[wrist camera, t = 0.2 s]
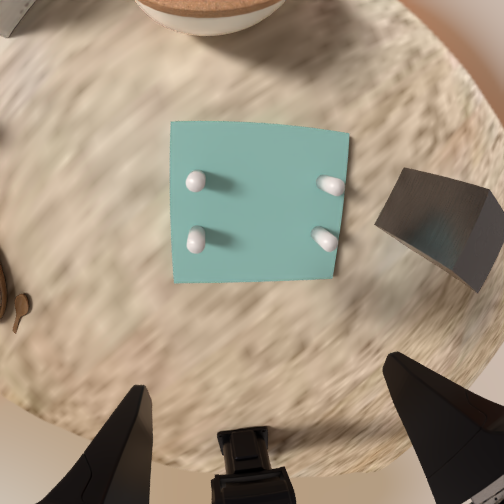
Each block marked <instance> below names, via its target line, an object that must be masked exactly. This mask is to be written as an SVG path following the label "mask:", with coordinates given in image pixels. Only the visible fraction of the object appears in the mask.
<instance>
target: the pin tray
mask: <svg viewBox="0 0 504 504" xmlns="http://www.w3.org/2000/svg"><path fill="white" fill-rule="evenodd" d="M348 148H349V133H344V132H337V131H331V130H324V129H316V128H309V127H300V126H290V125H280V124H267V123H252V122H229V121H176V122H171V130H170V219H171V243H172V261H173V275H174V283H223V282H262V281H290V280H314V279H332V278H333V272H334V266H335V260H336V253H337V247H338V240H339V233H340V226H341V218H342V210H343V201H344V192H345V183H346V172H347V161H348Z"/></svg>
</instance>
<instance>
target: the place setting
mask: <svg viewBox="0 0 504 504" xmlns="http://www.w3.org/2000/svg"><path fill="white" fill-rule="evenodd" d="M0 290H1V298H2V304H1V306H0V319H1V318H2V316H3V314H4V311H5V308H6V303H7V289H6V282H5V277H4V274H3V270H2V267H1V264H0ZM15 309H16V319H15V323H14V326H13V332H14V333H15V334H16V332H17V328H18V323H19V320H20V317H21V316H24V315H26V314H27V312H28V309H29V304H28V299H27V297H26V296H25V295H24V294H20V295H18V296H17V297H16V298H15Z"/></svg>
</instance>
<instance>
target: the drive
mask: <svg viewBox="0 0 504 504" xmlns="http://www.w3.org/2000/svg"><path fill="white" fill-rule="evenodd" d="M374 225H376V226H377V227H379V228H380V229H382V230H383V231H385V232H386V233H388V234H389V235H391V236H392V237H394V238H395V239H397V240H398V241H399V242H401V243H402V244H404V245H405V246H407V247H408V248H410V249H411V250H413V251H415V252H416V253H418V254H419V255H421V256H423V257H424V258H426V259H427V260H429V261H431V262H432V263H434V264H435V265H437V266H438V267H440V268H441V269H443V270H444V271H446V272H448V273H449V274H451V275H452V276H454V277H455V278H456V279H458V280H459V281H461V282H462V283H464V284H465V285H467V286H468V287H470V288H471V289H472V290H474V291H475V292H477V293H478V292H479V291H480V289H481V287H482V285H483V283H484V282H485V280H486V278H487V276H488V274H489V272H490V270H491V268H492V266H493V264H494V262H495V260H496V258H497V256H498V254H499V252H500V250H501V247H502V245H503V243H504V211H503V210H502V208H501V206H500V205H499V203H498V202H497V200H496V198H495V197H494V195H493V194H492V192H491V191H490V190H489V189H486V188H483V187H480V186H476V185H473V184H469V183H466V182H462V181H459V180H455V179H451V178H447V177H443V176H439V175H435V174H431V173H426V172H422V171H418V170H413V169H408V168H403V170H402V172H401V174H400V176H399V179H398V181H397V183H396V185H395V187H394V188H393V190H392V192H391V194H390V196H389V198H388V200H387V202H386V204H385V206H384V208H383V210H382V211H381V213H380V215H379V217H378V219H377V221H376V222H375V224H374Z"/></svg>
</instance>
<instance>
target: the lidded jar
mask: <svg viewBox="0 0 504 504" xmlns="http://www.w3.org/2000/svg"><path fill="white" fill-rule="evenodd" d="M285 1H286V0H135V2H136V3H137V4H138V6H139V7H140V8H141V9H142V10H143V11H144V12H145V13H146V14H147V15H148V16H149V17H150V18H152V19H153V20H154V21H156V22H157V23H159V24H160V25H162V26H164V27H166V28H168V29H171V30H173V31H176V32H180V33H184V34H189V35H197V36H216V35H224V34H229V33H234V32H238V31H241V30H244V29H247V28H249V27H251V26H253V25H255V24H257V23H259V22H260V21H262V20H263V19H265V18H267V17H268V16H270V15H271V14H272V13H273V12H274V11H276V10H277V9H278V8H279V7H280V6H281V5H282V4H283V3H284V2H285Z"/></svg>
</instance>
